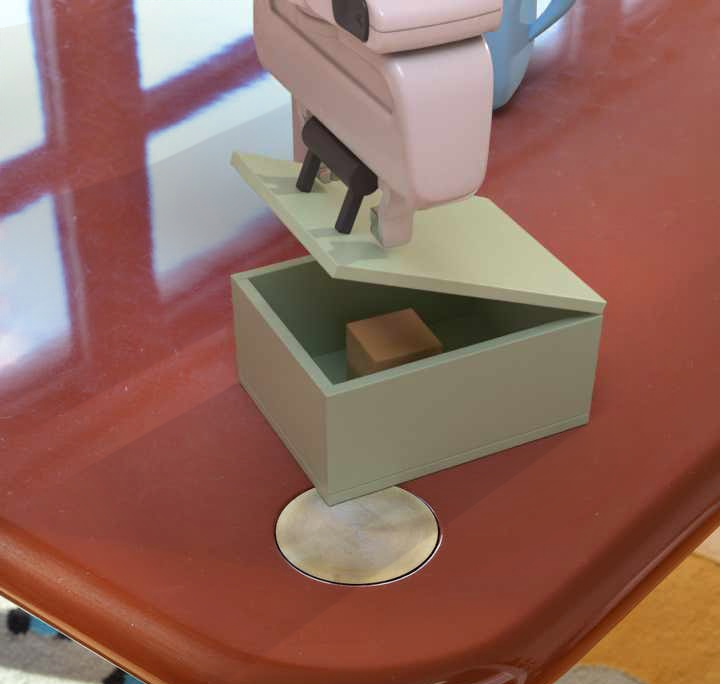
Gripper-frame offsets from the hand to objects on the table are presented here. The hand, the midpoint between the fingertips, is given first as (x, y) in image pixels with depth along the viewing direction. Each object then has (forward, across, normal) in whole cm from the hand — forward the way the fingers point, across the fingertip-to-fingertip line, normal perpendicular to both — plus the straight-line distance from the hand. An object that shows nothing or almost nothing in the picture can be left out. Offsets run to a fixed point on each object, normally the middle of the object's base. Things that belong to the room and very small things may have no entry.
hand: (358, 207), depth 74 cm
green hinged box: (+14, 0, +4) cm, 15 cm away
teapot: (+14, -38, +28) cm, 49 cm away
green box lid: (+3, 0, +4) cm, 5 cm away
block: (+14, 0, +2) cm, 14 cm away
